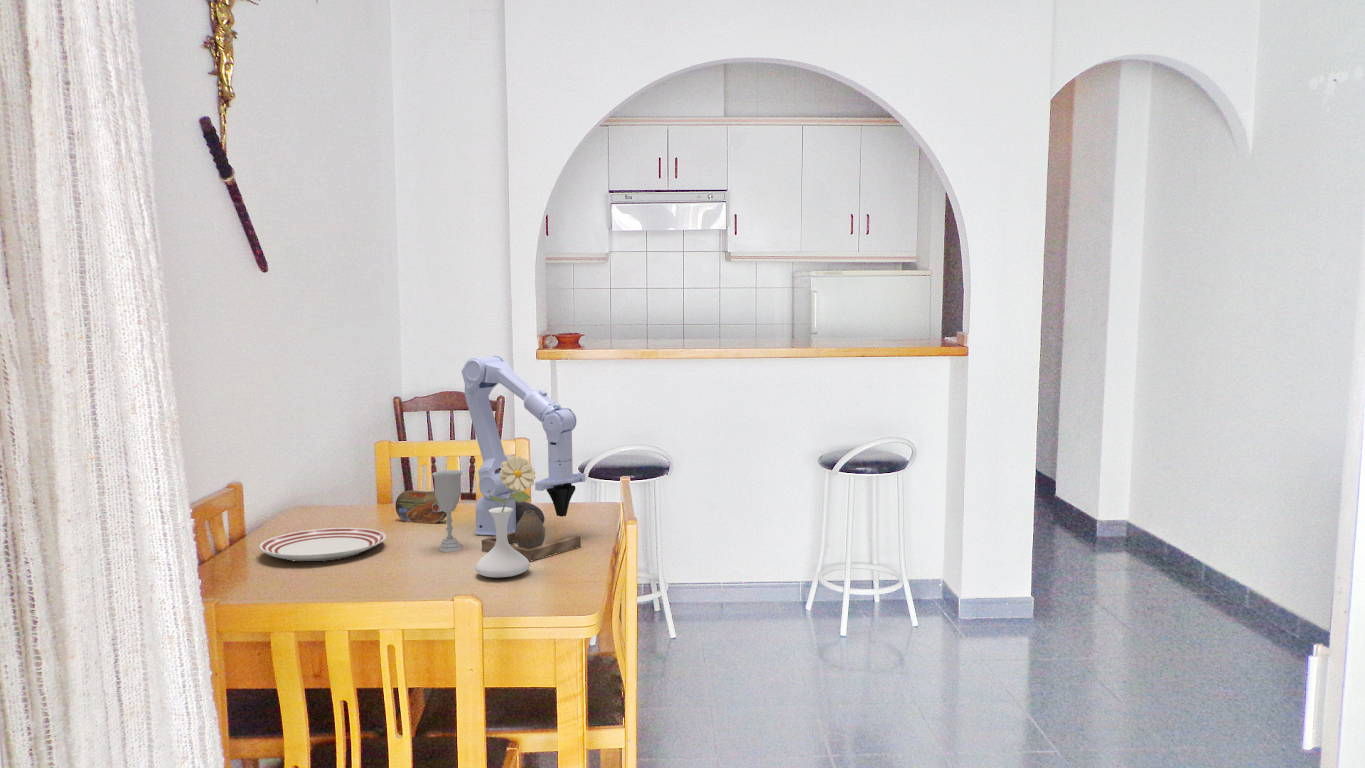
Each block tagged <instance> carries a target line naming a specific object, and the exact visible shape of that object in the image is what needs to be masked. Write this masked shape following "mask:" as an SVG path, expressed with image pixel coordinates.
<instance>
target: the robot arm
mask: <svg viewBox="0 0 1365 768" xmlns="http://www.w3.org/2000/svg"><path fill="white" fill-rule="evenodd" d="M461 375H462V378H463V383H464V398H465V401H466V405H467V408H468V412H469V414H470V415H469V416H470V419H471V423H472V426H473V430H474V432H475V433H474V434H475V436H476V439H477V444H478V447H479V451H480V455H481V458H482V465H481V466H480V467H479V469H478V471H477V474H478V488H479V491H480V493H481V495H482V496H480V497H479V498H478V500H476V505H475V522H476V523H475V527H476V530H475V532H474V534H475V535H479V536H496V526H495V522H494V519H493V516H492V515H491V514H490V512H489V510H490V509H493V508H499V507H503V506H504V504H505V503H506V501H507V499H508V497H509V495H510V493H511V489H510V488H509V489H507V488H506V484H503V481H502V480H500V470H501V465H502V462H504V461H507V459H508V458H509V457H507V456H506V454H505V451H504V448H503V444H502V440H501V437H500V434H499V430H498V426H497V423H496V419H495V416H494V412H493V408H492V404H491V401H490V397H489V396H490V394H491V392H492V391H493V389H494V388H495V387H496V386H497V385H498V384H499V385H502V386H503V387H505V388H506V389H508V390H509V392H511V393H512V394H513V395H516V396H517V397H518V398H519V399H521V400H522V401H523V406H524V408H525V410H527V411H528V412H529V413H530V414H531V415H532V416H534V417H535V418H536V419H537V420H538V421H539V422H540V423H541V425H542V428H543V431H544V432H545V435H546V440H547V449H548V450H547V451H548V452H547V456H548V458H547V460H548V463H547V465H548V466H547V467H548V477H547V478H544V479H541V480H539V481H534V488H535V489H534V490H535V491H537V492H538V491H539V492H543V491H545V490H546V492H547V494H548V495H549V497H550V498H551V501H552V504H553V507H554V510H555V514H556V516H557V517H566V516H567V513H568V510H569V506H570V502H571V499H572V497H573V495H574V493H575V491H576V485H574V484H576V483H584V482H586V473H583V472H582V473H581V472H578V473H573V472H574V471H573V470H574V469H573V467H574V466H573V431H574V430H575V428H576V425H577V417H576V413H575V412H574V411H573V410H572V409H571V408H570V407H562V406H561V404H559V402H558V403H557V402H556V401H554V400H553V399H552V398H551V397H549V396H548V392H547V391H545V390H541V389H535V390H534V389H533V388H532V387H531V386H530V385H528V383H526V382H525V380H523V379H522V378H521V377H520V376H519V375H518V374H517V373H516V372H515V371H514V370H513V369H512V368H511V366H510V363H509V362H507V361H505V360H504V358H503V357H501V356H499V355H493V356H489V357H488V356H486V357H470V358H468V359H467V360H466V362H465V364H464V365H463V368H462V369H461ZM516 491H517V490H516ZM516 491H513V492H512V494H513V493H515V492H516ZM489 494H490V495H491V496H493V497H496V498H500V499H503V500H504V501H505V503H501V502H498V501H494V500H492V499H491V498H490V495H489ZM505 507H508V508H512V509H513V511H512V512H511V514H510V516H509V519H508V524H507V533H511V532H515V529H516V501H515V500H514V499H513V498H512V496H511V497H510V499H509V501H508V502H507V504H506V506H505Z"/></svg>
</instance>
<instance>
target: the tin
mask: <svg viewBox="0 0 1365 768" xmlns="http://www.w3.org/2000/svg"><path fill="white" fill-rule="evenodd" d="M395 500H396V501H395V506H394V507H395V511H396V514H397V516H398V517H399V518H400V520H402V521H403V522H406V523H412V522H413V523H414V524H415V523H417V524H418V523H419V524H437V523H439V522H442V521H443V520H445V519H447V513H446V512H443V511H442V509H441V507H440V505H439V503H438V501H437V499H436V496H435V490H404V491H403V492H401V493H400V494H399V495H398V496H397V498H396V499H395Z"/></svg>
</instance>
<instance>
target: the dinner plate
mask: <svg viewBox="0 0 1365 768" xmlns="http://www.w3.org/2000/svg"><path fill="white" fill-rule="evenodd" d="M386 538H387V535H386V533H384V532H383V531H380V530H376V529H371V528H363V527H362V528H360V527H330V528H329V527H328V528H326V527H325V528H315V529H308V530H301V531H295V532H294V531H293V532H290V533H289V532H288V533H285V534H280V535H277V536H274V537H271V538H268V539H266V540H264V541H261V542H260V544H259V547H258V548H259V550H260V551H261V552H263V553H264V554H267V555H269V556H271V557H275V558H276V559H277V558H278V559H283V560H285V559H287V560H286V561H288V560H295V561H323V562H325V561H324V560H332V561H334V560H333V559H338V560H340V559H339V558H344V559H346V558H345V557H348V558H350V557H349V556H352V557H354V556H353V555H355V556H357V555H359V553H360V554H361V552H362V553H363V552H365V551H368V550H370V549H372V548H374V547H376V546H377V545H379V544H381V543H383V542H384V541H385V540H386ZM356 554H357V555H356Z"/></svg>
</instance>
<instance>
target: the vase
mask: <svg viewBox="0 0 1365 768" xmlns="http://www.w3.org/2000/svg"><path fill="white" fill-rule="evenodd" d="M545 537H546V530H545V526H544V523H542V522H541V520H540V519H539V518H538V517H537V516H536V514H535V512H534V511H525V512H524V514H523V516H522V518H521V519H520V520H519V522H518V523H517V525H516V529H515V540H516V543H515V544H516V546H518V547H522V548H526V549H532V548H535V547H539V546H542V545H544V541H545Z"/></svg>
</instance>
